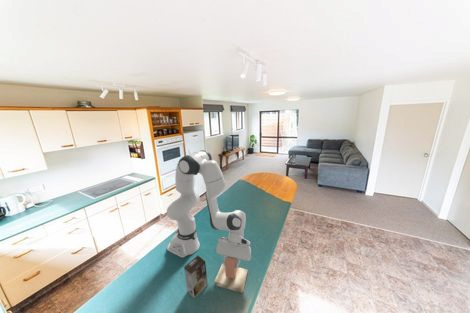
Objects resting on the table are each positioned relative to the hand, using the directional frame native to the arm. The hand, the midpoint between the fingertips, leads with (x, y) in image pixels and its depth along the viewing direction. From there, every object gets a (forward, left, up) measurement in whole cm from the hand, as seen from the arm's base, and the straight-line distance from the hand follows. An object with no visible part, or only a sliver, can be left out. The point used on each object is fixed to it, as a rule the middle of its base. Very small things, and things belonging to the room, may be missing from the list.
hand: (230, 267), depth 91 cm
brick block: (0, +1, -5) cm, 5 cm away
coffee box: (-16, -9, -9) cm, 20 cm away
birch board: (0, +1, -9) cm, 9 cm away
